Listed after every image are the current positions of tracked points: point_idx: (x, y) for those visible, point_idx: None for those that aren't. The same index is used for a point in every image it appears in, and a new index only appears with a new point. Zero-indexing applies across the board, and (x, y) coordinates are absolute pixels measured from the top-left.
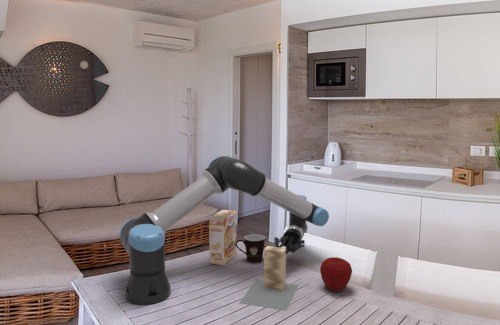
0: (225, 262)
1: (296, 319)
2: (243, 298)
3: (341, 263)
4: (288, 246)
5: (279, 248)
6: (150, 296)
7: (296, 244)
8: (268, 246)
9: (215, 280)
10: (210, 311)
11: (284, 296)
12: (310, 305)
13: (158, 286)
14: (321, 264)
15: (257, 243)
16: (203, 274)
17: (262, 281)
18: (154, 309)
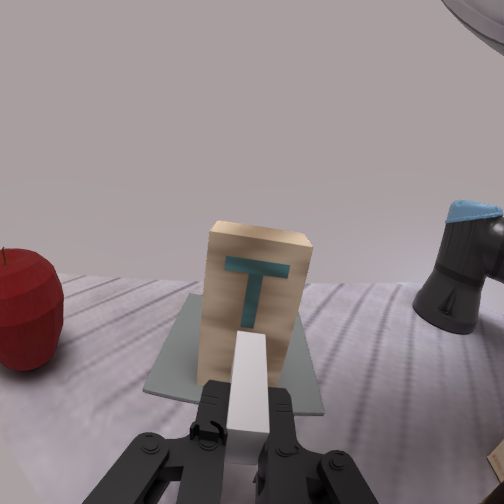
0: (495, 458)
1: (171, 281)
2: (298, 321)
3: (7, 249)
4: (197, 429)
5: (241, 231)
6: (419, 290)
7: (96, 501)
8: (303, 244)
9: (422, 377)
10: (329, 296)
11: (196, 330)
12: (131, 308)
13: (425, 284)
14: (47, 289)
15: (500, 490)
16: (467, 390)
17: (294, 401)
18: (399, 295)
